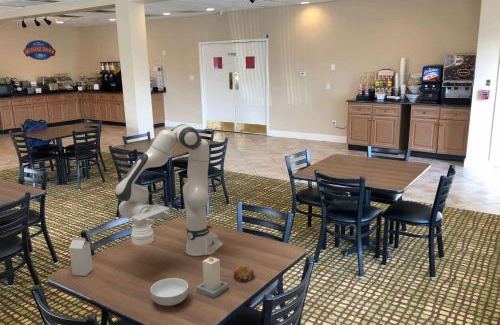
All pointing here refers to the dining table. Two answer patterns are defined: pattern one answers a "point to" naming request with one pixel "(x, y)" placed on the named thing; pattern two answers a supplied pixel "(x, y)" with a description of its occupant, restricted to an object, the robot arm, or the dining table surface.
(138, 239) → the honey pot
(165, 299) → the cereal bowl
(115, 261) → the dining table surface
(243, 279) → the bread roll
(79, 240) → the milk carton
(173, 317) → the dining table surface
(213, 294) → the tray
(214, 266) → the juice box
